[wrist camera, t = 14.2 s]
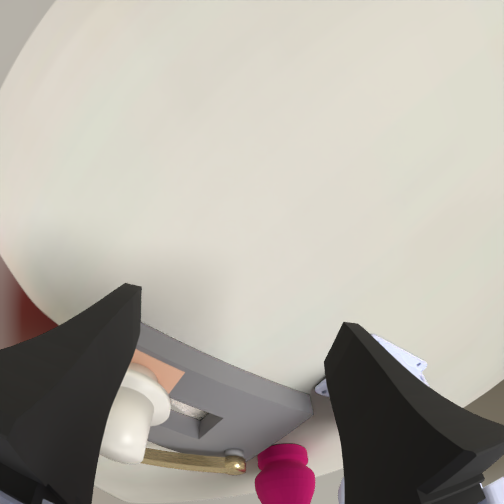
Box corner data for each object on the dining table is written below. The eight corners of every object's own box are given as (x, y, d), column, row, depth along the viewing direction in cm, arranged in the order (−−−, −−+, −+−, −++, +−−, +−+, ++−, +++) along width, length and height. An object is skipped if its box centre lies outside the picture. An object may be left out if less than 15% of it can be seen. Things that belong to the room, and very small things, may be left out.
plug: (187, 372, 22) (174, 452, 15) (159, 410, 24) (146, 478, 17) (111, 335, 20) (76, 410, 14) (94, 380, 22) (67, 445, 16)
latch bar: (246, 456, 26) (246, 467, 25) (244, 464, 27) (245, 475, 26) (89, 433, 25) (85, 443, 24) (95, 443, 26) (92, 452, 25)
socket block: (309, 394, 27) (314, 421, 24) (235, 451, 32) (235, 473, 29) (120, 310, 22) (106, 336, 19) (87, 393, 27) (77, 415, 24)
